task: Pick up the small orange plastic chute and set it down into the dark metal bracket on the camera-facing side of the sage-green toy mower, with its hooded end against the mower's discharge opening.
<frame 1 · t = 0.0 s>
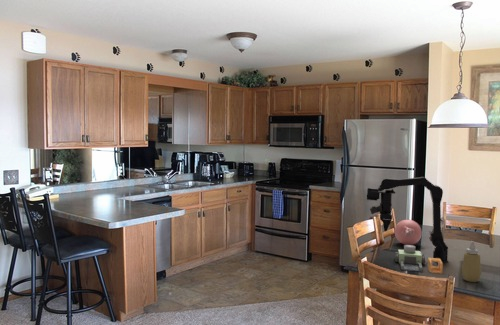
hand: (385, 229, 233), 15 cm above the table, tool pointing down, fingers open, 9 cm apart
chute bracket: (410, 267, 212), on the table
mower deck: (409, 261, 222), on the table
pink rounded piece: (407, 245, 256), on the table
chute: (434, 270, 209), on the table
squeeze bottle: (470, 280, 194), on the table
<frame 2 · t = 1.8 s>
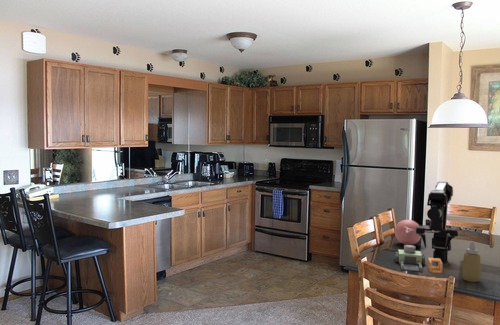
hand: (435, 248, 208), 11 cm above the table, tool pointing down, fingers open, 9 cm apart
nothing on the table moved.
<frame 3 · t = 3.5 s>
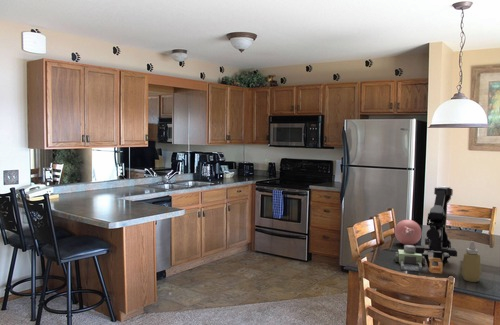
hand: (434, 268, 209), 1 cm above the table, tool pointing down, fingers closed on chute, 6 cm apart
chute: (434, 270, 209), on the table, touching gripper
everything else where it was.
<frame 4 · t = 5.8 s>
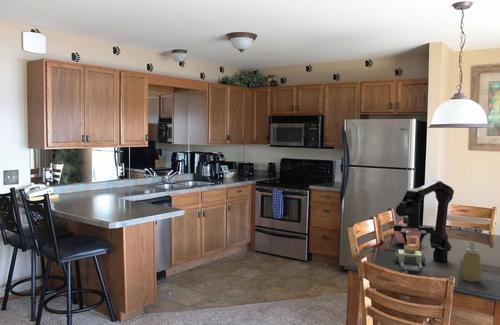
hand: (412, 245, 212), 11 cm above the table, tool pointing down, fingers closed on chute, 6 cm apart
chute: (412, 247, 212), point 10 cm above the table, touching gripper
everything else where it was.
when the fingers open (3 cm above the table, at t = 7.9 s): chute drops 1 cm, resting on chute bracket.
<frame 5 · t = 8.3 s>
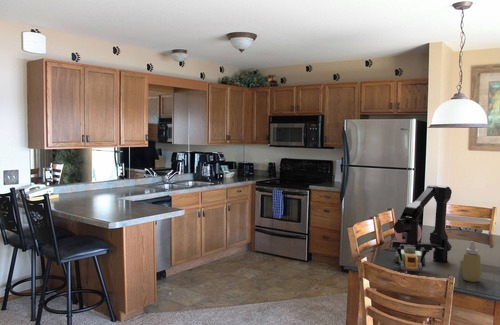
hand: (411, 261, 213), 3 cm above the table, tool pointing down, fingers open, 9 cm apart
chute: (410, 266, 213), point 1 cm above the table, touching chute bracket
everything else where it was.
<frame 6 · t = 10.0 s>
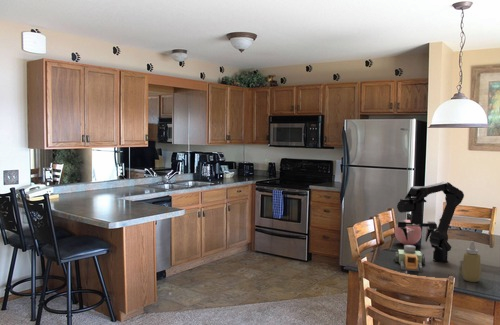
hand: (416, 241, 219), 12 cm above the table, tool pointing down, fingers open, 9 cm apart
nothing on the table moved.
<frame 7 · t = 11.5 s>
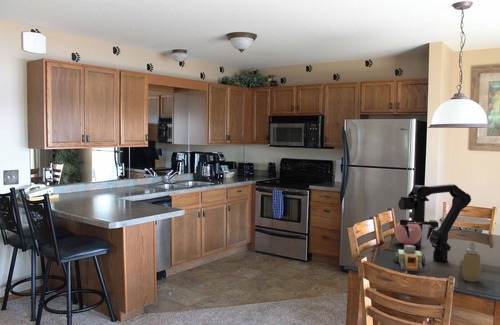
hand: (417, 239, 222), 12 cm above the table, tool pointing down, fingers open, 9 cm apart
nothing on the table moved.
at the end: chute 0.1 cm off-centre on the chute bracket, point 0.6 cm above the chute bracket's base; chute tilted 0°; the gripper is holding nothing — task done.
